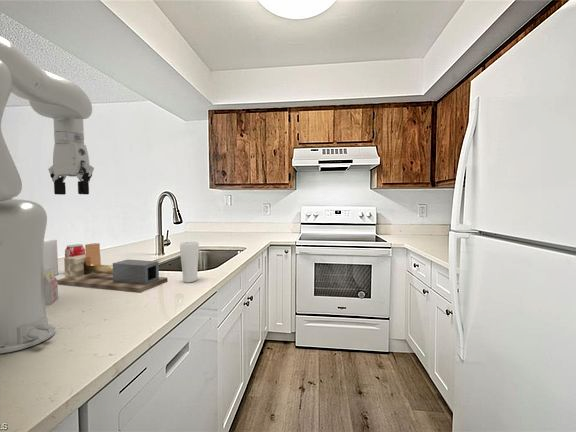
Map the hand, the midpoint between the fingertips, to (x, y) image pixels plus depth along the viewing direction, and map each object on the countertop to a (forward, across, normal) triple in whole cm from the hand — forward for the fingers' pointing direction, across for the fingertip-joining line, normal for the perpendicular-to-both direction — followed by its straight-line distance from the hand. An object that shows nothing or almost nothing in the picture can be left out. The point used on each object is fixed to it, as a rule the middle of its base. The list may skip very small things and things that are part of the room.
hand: (71, 194), depth 93 cm
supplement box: (+34, +39, -16) cm, 54 cm away
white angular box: (+34, +4, +6) cm, 34 cm away
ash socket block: (+32, +16, -16) cm, 39 cm away
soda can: (+34, +30, -24) cm, 51 cm away
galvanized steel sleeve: (+32, -9, -16) cm, 37 cm away
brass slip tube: (+30, +5, -16) cm, 34 cm away
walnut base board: (+33, +2, -16) cm, 37 cm away
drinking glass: (+34, -25, -26) cm, 49 cm away
